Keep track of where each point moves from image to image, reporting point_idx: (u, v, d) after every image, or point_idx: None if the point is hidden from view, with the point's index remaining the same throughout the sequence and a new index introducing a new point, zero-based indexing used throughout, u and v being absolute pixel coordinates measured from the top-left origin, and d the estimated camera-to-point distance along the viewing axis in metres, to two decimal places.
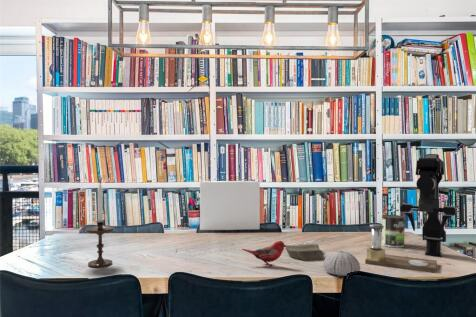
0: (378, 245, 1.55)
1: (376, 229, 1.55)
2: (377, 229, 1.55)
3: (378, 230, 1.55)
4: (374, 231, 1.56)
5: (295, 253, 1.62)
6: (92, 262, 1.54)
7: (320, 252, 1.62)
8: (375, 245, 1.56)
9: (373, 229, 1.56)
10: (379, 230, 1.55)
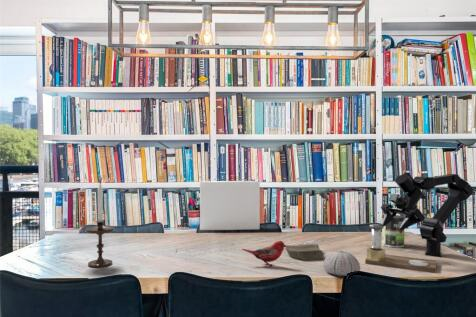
0: (378, 245, 1.55)
1: (376, 229, 1.55)
2: (377, 229, 1.55)
3: (378, 230, 1.55)
4: (374, 231, 1.56)
5: (295, 253, 1.62)
6: (92, 262, 1.54)
7: (320, 252, 1.62)
8: (375, 245, 1.56)
9: (373, 229, 1.56)
10: (379, 230, 1.55)
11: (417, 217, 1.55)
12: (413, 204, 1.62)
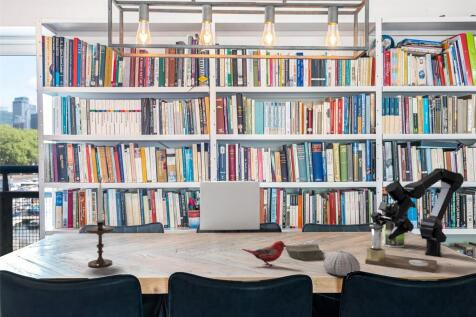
0: (378, 245, 1.55)
1: (376, 229, 1.55)
2: (377, 229, 1.55)
3: (378, 230, 1.55)
4: (374, 231, 1.56)
5: (295, 253, 1.62)
6: (92, 262, 1.54)
7: (320, 252, 1.62)
8: (375, 245, 1.56)
9: (373, 229, 1.56)
10: (379, 230, 1.55)
11: (406, 226, 1.53)
12: (403, 213, 1.59)
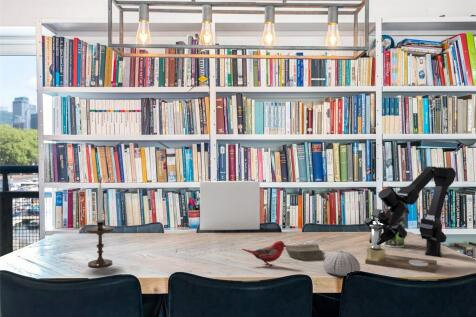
0: (378, 245, 1.55)
1: (376, 229, 1.55)
2: (377, 229, 1.55)
3: (378, 230, 1.55)
4: (374, 231, 1.56)
5: (295, 253, 1.62)
6: (92, 262, 1.54)
7: (320, 252, 1.62)
8: (375, 245, 1.56)
9: (373, 229, 1.56)
10: (379, 230, 1.55)
11: (394, 232, 1.54)
12: (396, 219, 1.58)
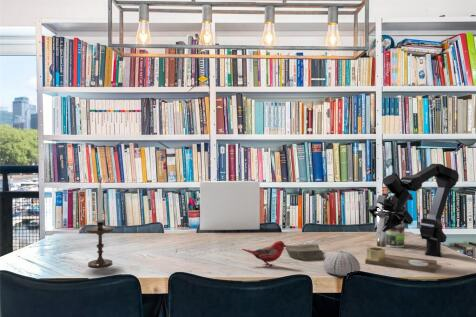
0: (384, 232, 1.54)
1: (382, 216, 1.54)
2: (383, 216, 1.54)
3: (384, 217, 1.54)
4: (380, 218, 1.54)
5: (295, 253, 1.62)
6: (92, 262, 1.54)
7: (320, 252, 1.62)
8: (380, 231, 1.54)
9: (379, 216, 1.55)
10: (385, 217, 1.54)
11: (400, 218, 1.53)
12: (401, 206, 1.57)
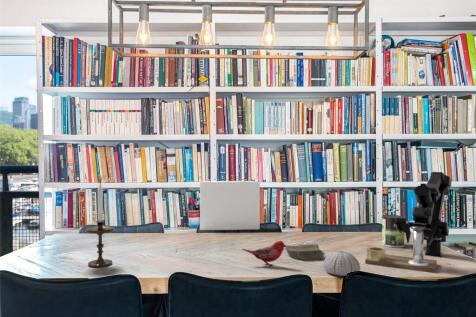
0: (423, 248, 1.49)
1: (421, 231, 1.48)
2: (422, 231, 1.48)
3: (422, 232, 1.49)
4: (419, 233, 1.48)
5: (295, 253, 1.62)
6: (92, 262, 1.54)
7: (320, 252, 1.62)
8: (420, 247, 1.48)
9: (418, 231, 1.48)
10: (423, 232, 1.49)
11: (441, 230, 1.49)
12: (431, 217, 1.54)
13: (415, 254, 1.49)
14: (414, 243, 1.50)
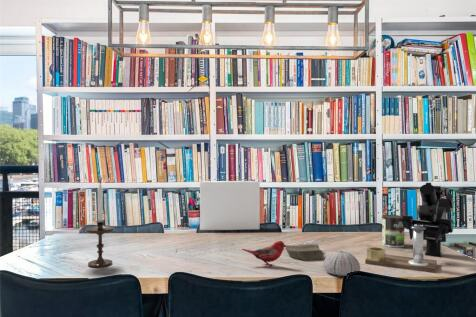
0: (422, 248, 1.48)
1: (421, 231, 1.48)
2: (422, 231, 1.48)
3: (422, 232, 1.48)
4: (419, 233, 1.48)
5: (295, 253, 1.62)
6: (92, 262, 1.54)
7: (320, 252, 1.62)
8: (420, 248, 1.48)
9: (417, 231, 1.48)
10: (422, 232, 1.49)
11: (448, 228, 1.55)
12: (436, 214, 1.61)
13: (415, 254, 1.49)
14: (414, 243, 1.49)
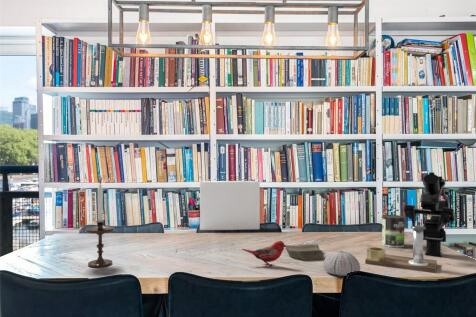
0: (422, 248, 1.49)
1: (421, 231, 1.48)
2: (421, 231, 1.48)
3: (422, 232, 1.49)
4: (418, 233, 1.48)
5: (295, 253, 1.62)
6: (92, 262, 1.54)
7: (320, 252, 1.62)
8: (419, 247, 1.48)
9: (417, 231, 1.49)
10: (422, 232, 1.49)
11: (450, 216, 1.57)
12: (438, 204, 1.63)
13: (415, 254, 1.49)
14: (414, 243, 1.50)
